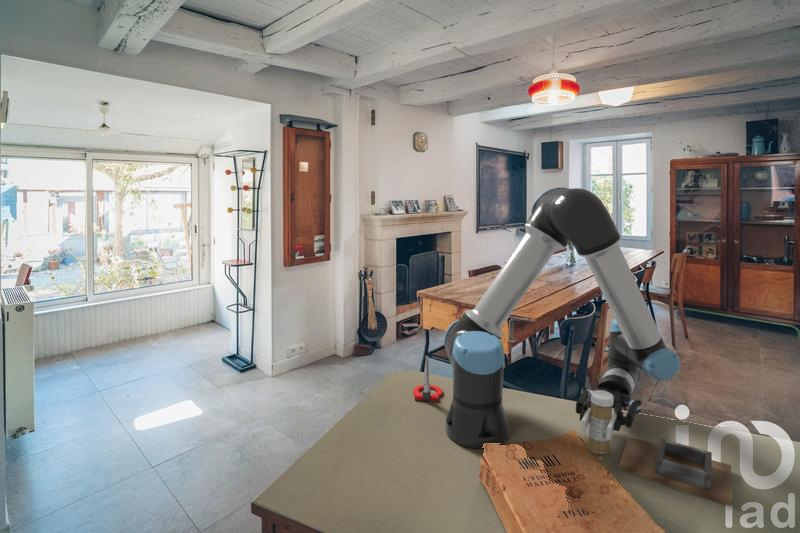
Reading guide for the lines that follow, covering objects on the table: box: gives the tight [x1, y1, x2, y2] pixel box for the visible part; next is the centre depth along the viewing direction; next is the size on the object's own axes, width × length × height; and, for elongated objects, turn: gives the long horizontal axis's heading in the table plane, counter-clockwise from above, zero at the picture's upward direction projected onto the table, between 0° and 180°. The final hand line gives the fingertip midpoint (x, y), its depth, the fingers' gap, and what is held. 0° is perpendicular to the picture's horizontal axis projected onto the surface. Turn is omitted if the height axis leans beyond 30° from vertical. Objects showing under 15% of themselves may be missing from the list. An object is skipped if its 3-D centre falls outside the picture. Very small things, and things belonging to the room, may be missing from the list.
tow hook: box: [412, 355, 444, 402], centre depth 126 cm, size 8×13×9 cm
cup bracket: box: [618, 436, 733, 507], centre depth 92 cm, size 19×12×4 cm, turn 55°
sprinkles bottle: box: [587, 390, 614, 456], centre depth 98 cm, size 5×5×14 cm
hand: (595, 429), depth 94 cm, fingers closed on sprinkles bottle, 4 cm apart
